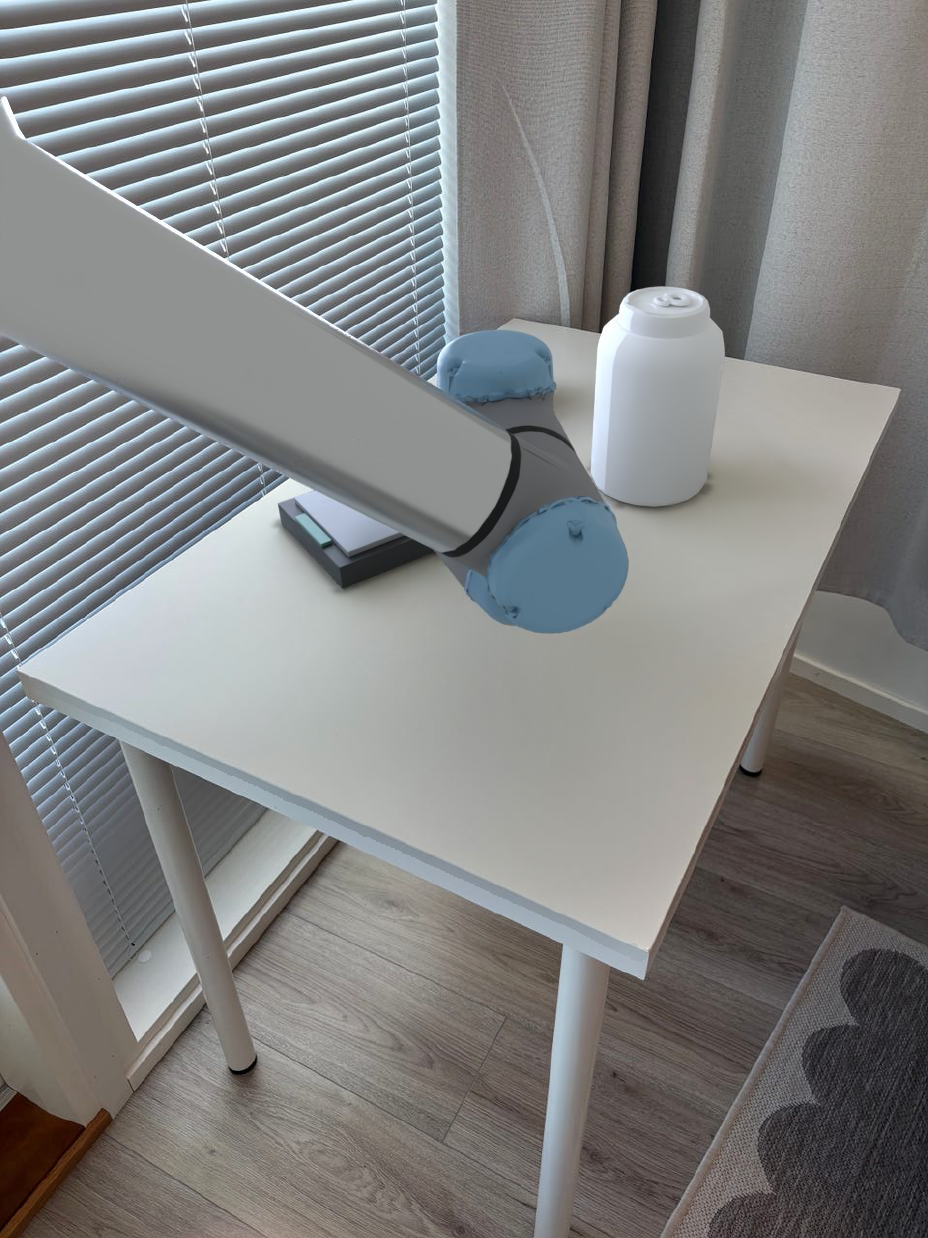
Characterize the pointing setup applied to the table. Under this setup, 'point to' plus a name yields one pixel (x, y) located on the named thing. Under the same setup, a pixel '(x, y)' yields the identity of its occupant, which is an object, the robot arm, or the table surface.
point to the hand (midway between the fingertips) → (341, 379)
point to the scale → (346, 538)
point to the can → (656, 397)
